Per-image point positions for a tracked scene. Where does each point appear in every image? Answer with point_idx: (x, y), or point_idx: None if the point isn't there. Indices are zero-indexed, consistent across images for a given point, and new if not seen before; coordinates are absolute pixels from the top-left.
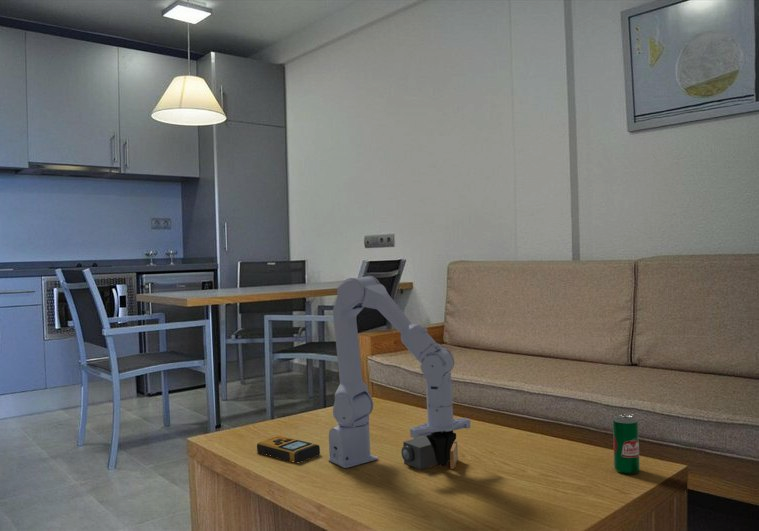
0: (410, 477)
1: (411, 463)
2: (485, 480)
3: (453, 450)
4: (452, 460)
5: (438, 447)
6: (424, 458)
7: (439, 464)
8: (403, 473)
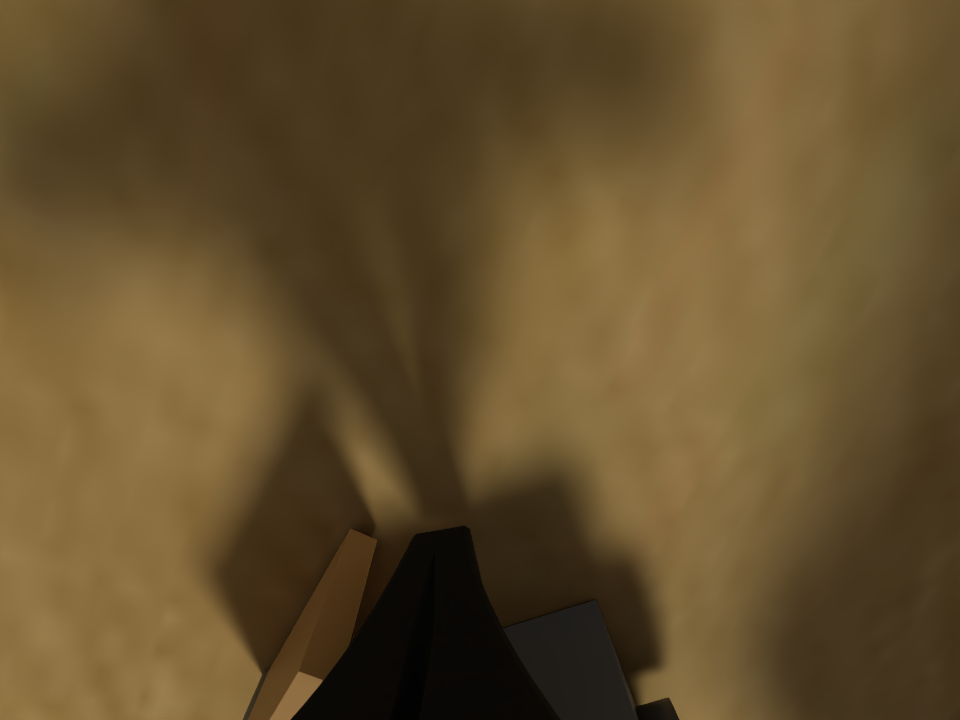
0: (735, 493)
1: (630, 692)
2: (142, 191)
3: (289, 686)
4: (341, 586)
5: (540, 695)
6: (572, 687)
7: (477, 566)
8: (740, 577)
